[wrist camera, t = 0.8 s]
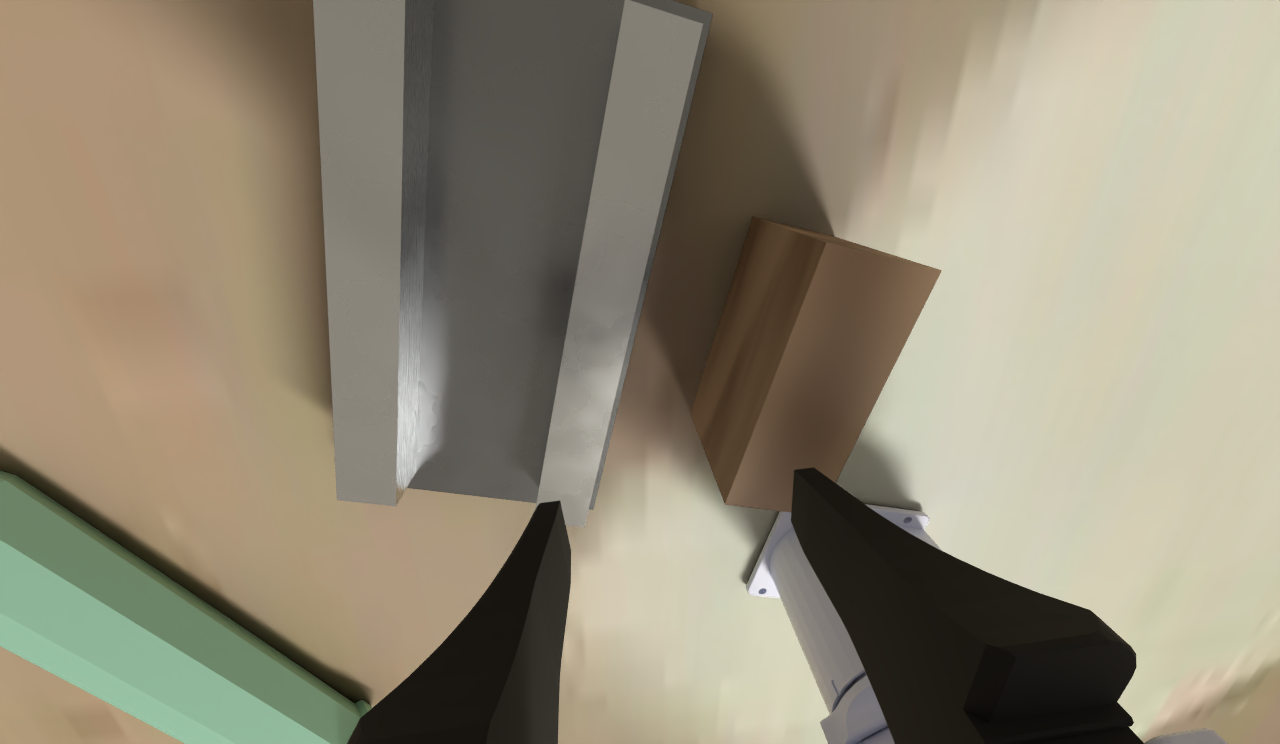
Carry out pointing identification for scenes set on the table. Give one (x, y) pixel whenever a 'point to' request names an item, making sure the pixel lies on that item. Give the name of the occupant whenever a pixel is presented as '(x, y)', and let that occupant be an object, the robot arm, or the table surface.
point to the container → (147, 637)
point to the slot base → (492, 232)
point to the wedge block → (801, 357)
